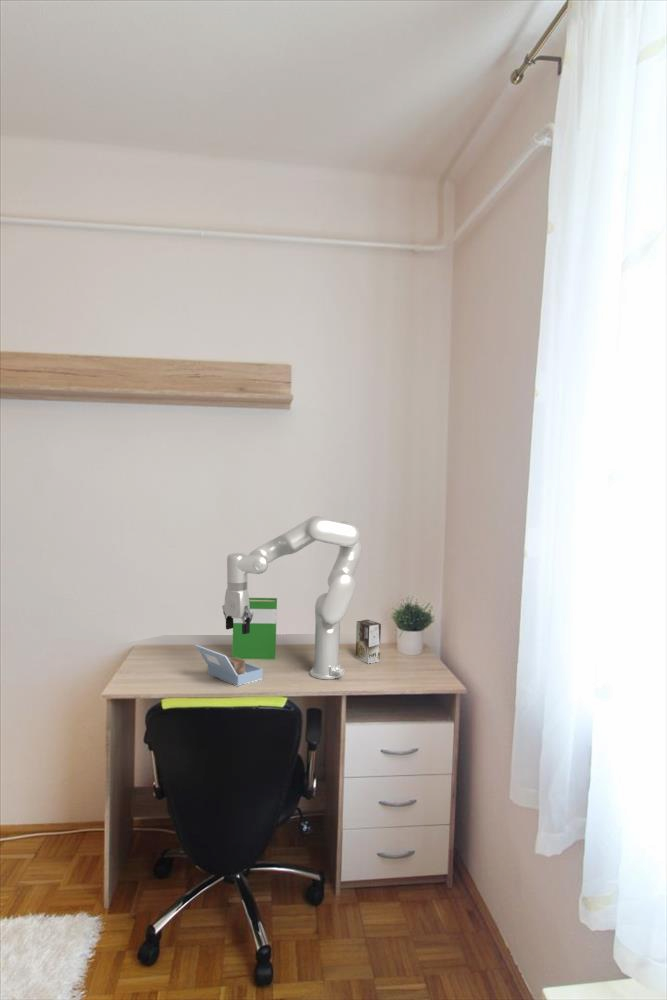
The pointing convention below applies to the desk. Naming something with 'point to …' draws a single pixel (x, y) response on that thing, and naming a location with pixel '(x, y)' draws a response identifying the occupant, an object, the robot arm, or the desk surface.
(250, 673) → the mailer box
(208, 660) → the lid
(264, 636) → the hardback book
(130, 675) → the desk surface
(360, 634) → the coffee box
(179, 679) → the desk surface
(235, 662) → the walnut block
